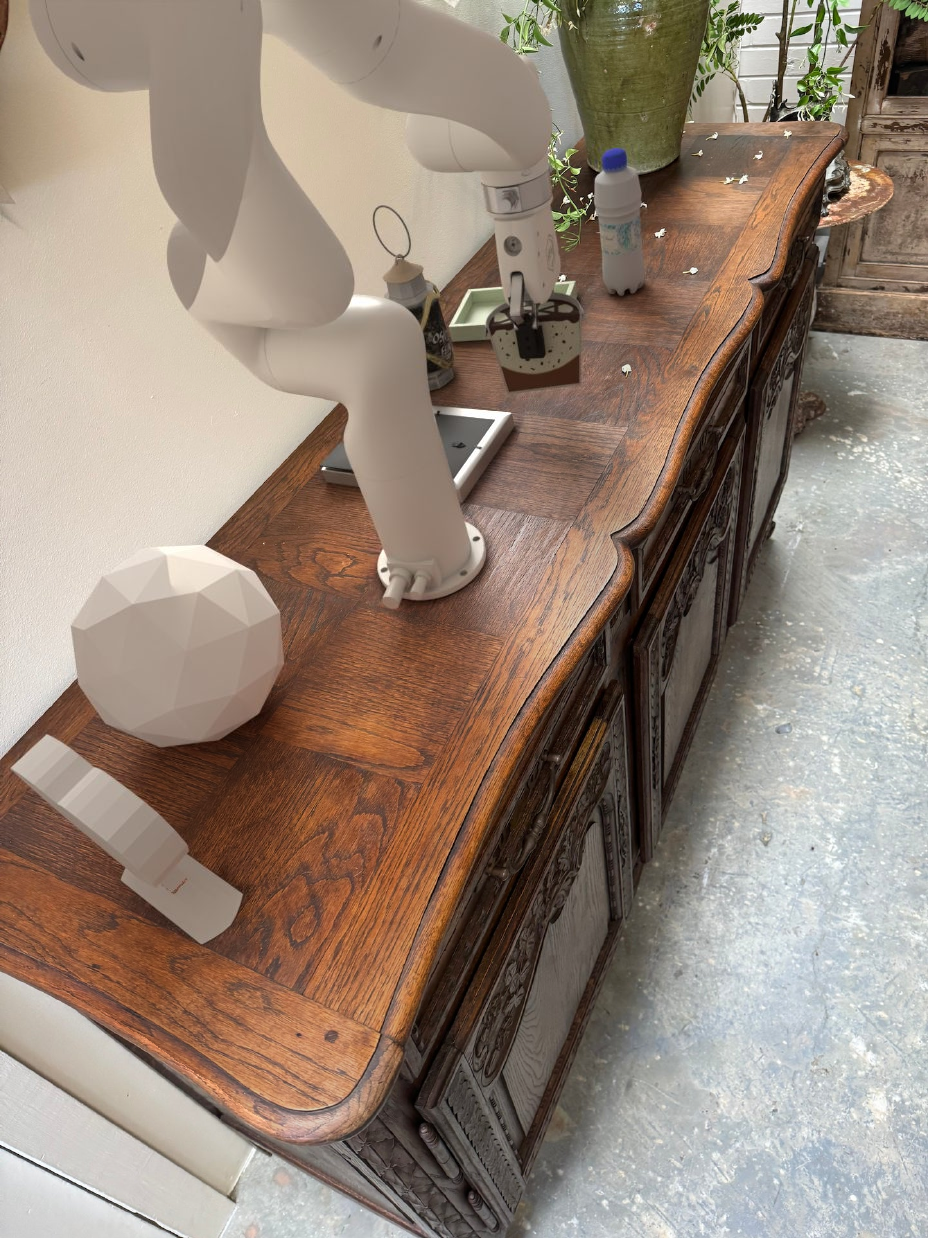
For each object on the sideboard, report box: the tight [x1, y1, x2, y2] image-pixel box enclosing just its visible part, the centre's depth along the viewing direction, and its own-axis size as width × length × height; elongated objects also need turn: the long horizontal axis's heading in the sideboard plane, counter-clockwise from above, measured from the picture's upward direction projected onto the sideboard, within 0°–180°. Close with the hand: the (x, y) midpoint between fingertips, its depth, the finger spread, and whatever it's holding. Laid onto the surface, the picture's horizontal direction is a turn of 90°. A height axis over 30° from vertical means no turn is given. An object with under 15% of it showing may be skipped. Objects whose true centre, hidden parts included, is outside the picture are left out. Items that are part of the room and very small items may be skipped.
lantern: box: [372, 204, 455, 392], centre depth 114 cm, size 9×8×25 cm
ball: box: [70, 544, 285, 748], centre depth 81 cm, size 19×20×20 cm
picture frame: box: [318, 405, 515, 504], centre depth 110 cm, size 16×3×21 cm
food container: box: [485, 292, 588, 395], centre depth 104 cm, size 12×6×10 cm, turn 84°
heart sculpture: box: [9, 733, 244, 945], centre depth 67 cm, size 16×5×18 cm, turn 55°
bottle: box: [593, 147, 646, 297], centre depth 122 cm, size 7×7×20 cm
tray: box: [448, 280, 578, 343], centre depth 129 cm, size 12×18×2 cm, turn 74°
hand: (539, 340), depth 104 cm, fingers closed on food container, 6 cm apart
